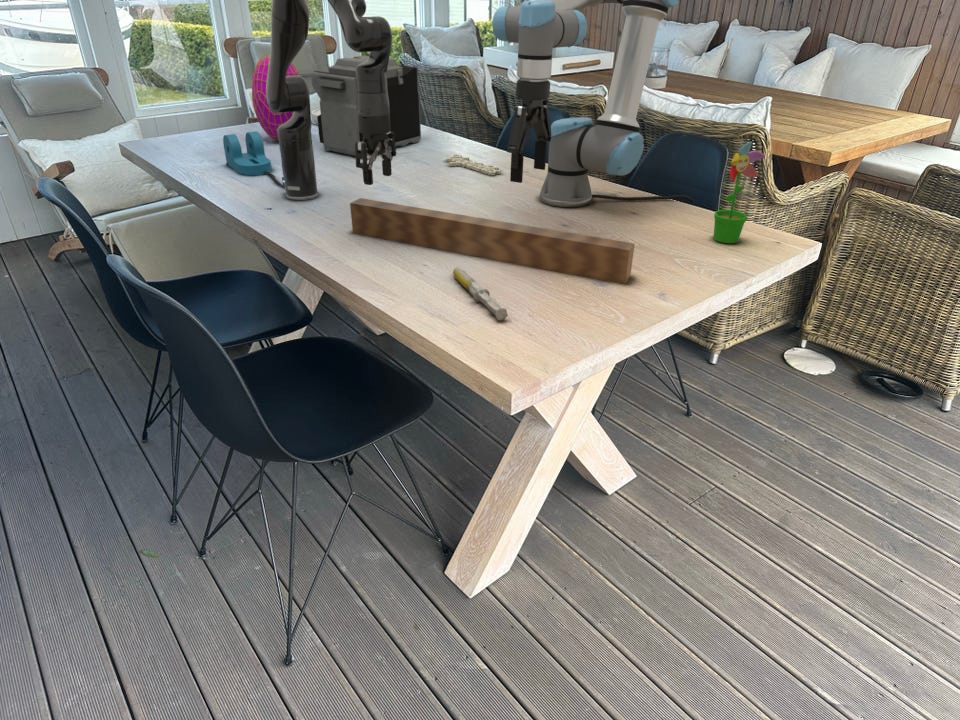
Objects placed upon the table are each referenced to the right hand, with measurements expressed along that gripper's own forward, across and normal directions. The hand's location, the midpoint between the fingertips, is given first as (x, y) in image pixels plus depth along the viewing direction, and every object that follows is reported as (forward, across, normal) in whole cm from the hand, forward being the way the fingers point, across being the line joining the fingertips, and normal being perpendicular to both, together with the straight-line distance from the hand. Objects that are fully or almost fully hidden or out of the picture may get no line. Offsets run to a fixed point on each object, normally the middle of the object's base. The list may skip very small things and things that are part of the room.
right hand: (528, 175), depth 163 cm
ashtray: (+16, -95, -130) cm, 162 cm away
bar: (+18, +10, -7) cm, 21 cm away
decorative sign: (+17, -58, -46) cm, 76 cm away
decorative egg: (+17, -57, -127) cm, 140 cm away
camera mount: (+18, -20, -109) cm, 112 cm away
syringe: (+18, +32, +4) cm, 37 cm away
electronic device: (+17, -66, -93) cm, 115 cm away
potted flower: (+17, -29, +44) cm, 55 cm away
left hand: (+4, +11, -35) cm, 37 cm away
